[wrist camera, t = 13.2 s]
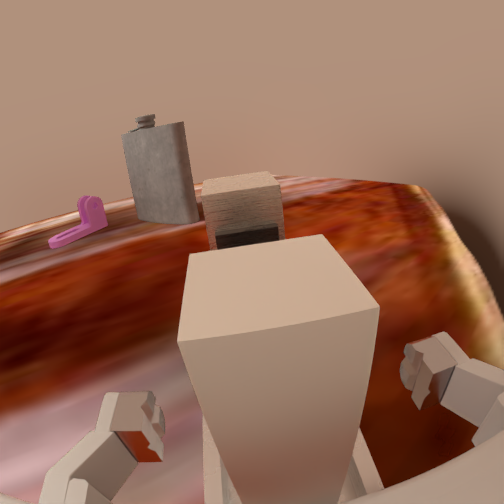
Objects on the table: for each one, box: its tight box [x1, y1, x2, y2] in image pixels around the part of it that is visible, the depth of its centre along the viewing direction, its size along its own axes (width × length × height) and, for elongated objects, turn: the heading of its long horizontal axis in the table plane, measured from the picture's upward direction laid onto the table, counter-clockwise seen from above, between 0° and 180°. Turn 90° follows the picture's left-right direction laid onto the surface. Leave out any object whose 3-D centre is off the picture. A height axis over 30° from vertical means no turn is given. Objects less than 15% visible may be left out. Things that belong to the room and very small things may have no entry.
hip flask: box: [121, 114, 200, 224], centre depth 55 cm, size 16×4×20 cm, turn 58°
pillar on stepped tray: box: [201, 171, 384, 504], centre depth 16 cm, size 8×22×14 cm, turn 6°
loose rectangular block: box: [177, 234, 380, 504], centre depth 10 cm, size 4×5×12 cm
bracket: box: [48, 196, 108, 248], centre depth 57 cm, size 13×6×7 cm, turn 142°
